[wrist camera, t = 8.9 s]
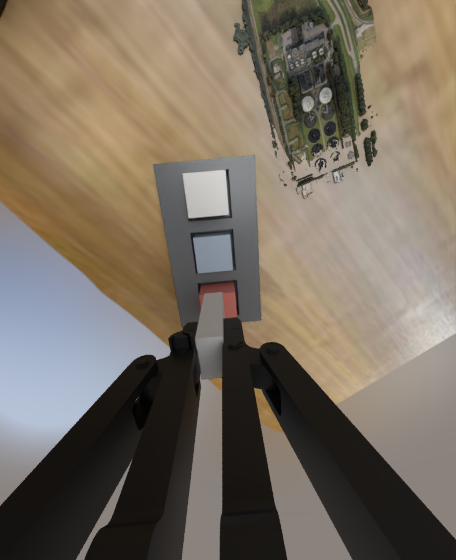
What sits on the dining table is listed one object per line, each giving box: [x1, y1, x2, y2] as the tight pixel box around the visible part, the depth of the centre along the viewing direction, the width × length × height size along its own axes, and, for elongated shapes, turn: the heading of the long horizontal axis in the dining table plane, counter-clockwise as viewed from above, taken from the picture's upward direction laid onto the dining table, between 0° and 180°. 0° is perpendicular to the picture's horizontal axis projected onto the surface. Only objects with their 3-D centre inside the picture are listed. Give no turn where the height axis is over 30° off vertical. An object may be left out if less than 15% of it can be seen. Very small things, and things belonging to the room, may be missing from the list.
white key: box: [182, 170, 229, 218], centre depth 25 cm, size 5×5×4 cm
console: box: [153, 155, 261, 328], centre depth 31 cm, size 12×22×5 cm, turn 5°
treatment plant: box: [234, 0, 378, 198], centre depth 26 cm, size 25×18×4 cm
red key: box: [199, 282, 237, 318], centre depth 29 cm, size 5×5×4 cm
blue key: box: [193, 231, 233, 273], centre depth 29 cm, size 5×5×4 cm
